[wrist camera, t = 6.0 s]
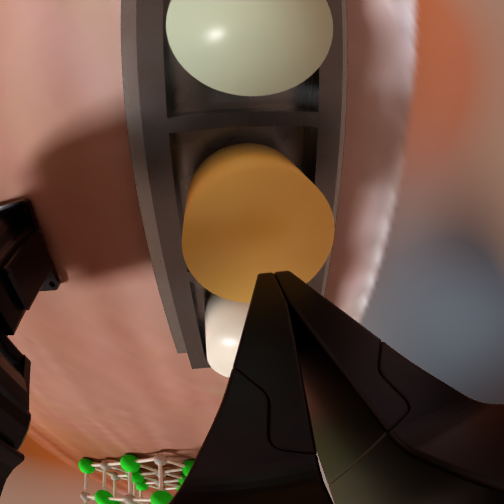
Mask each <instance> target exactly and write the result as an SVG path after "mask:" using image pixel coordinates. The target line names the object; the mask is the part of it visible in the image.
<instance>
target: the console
mask: <svg viewBox="0 0 504 504" xmlns="http://www.w3.org/2000/svg"><path fill="white" fill-rule="evenodd" d="M326 1H327V3H328V5H329V8H330V11H331V15H332V20H333V38H332V42H331V46H330V49H329V52H328V54H327V56H326V58H325V60H324V61H323V63H322V64H321V65H320V67H319V68H318V69H317V70H316V71H315V72H314V73H313V74H312V75H311V76H310V77H309V78H307V79H306V80H305V81H303V82H302V83H300V84H298V85H297V86H295V87H293V88H290V89H288V90H286V91H282V92H279V93H276V94H271V95H265V96H240V95H233V94H229V93H225V92H221V91H218V90H216V89H213V88H210V87H208V86H206V85H205V84H203V83H201V82H200V81H198V80H197V79H196V78H194V77H193V76H192V75H191V74H190V73H188V72H187V71H186V70H185V69H184V68H183V66H182V65H181V64H180V63H179V62H178V60H177V59H176V57H175V55H174V54H173V52H172V50H171V47H170V45H169V42H168V38H167V32H166V16H167V12H168V8H169V5H170V2H171V0H121V56H122V76H123V90H124V102H125V112H126V122H127V130H128V138H129V146H130V153H131V160H132V167H133V173H134V179H135V185H136V191H137V196H138V201H139V207H140V212H141V217H142V222H143V227H144V231H145V236H146V240H147V245H148V249H149V253H150V258H151V262H152V266H153V270H154V274H155V278H156V281H157V285H158V289H159V293H160V296H161V300H162V304H163V307H164V310H165V314H166V317H167V321H168V324H169V327H170V331H171V334H172V337H173V340H174V343H175V346H176V349H177V352H178V353H188V357H189V360H190V363H191V367H192V369H196V368H209V367H211V366H210V365H209V363H208V360H207V352H206V332H205V309H204V305H205V299H206V296H207V294H208V292H209V291H208V290H207V289H205V288H204V287H203V286H202V285H201V284H200V283H199V282H197V280H196V279H195V278H194V277H193V275H192V274H191V272H190V271H189V269H188V267H187V265H186V262H185V260H184V256H183V252H182V230H183V222H184V215H185V207H186V200H187V193H188V188H189V184H190V181H191V179H192V177H193V175H194V173H195V171H196V170H197V168H198V167H199V166H200V165H201V163H202V162H203V161H204V160H205V159H206V158H208V157H209V156H210V155H212V154H213V153H215V152H216V151H218V150H220V149H222V148H225V147H227V146H230V145H234V144H240V143H256V144H262V145H265V146H269V147H271V148H273V149H276V150H277V151H279V152H280V153H282V154H283V155H284V156H286V157H287V158H288V159H289V160H290V161H291V162H292V163H293V164H294V165H295V166H296V167H297V168H298V169H299V170H300V171H301V172H302V173H303V174H304V175H305V176H306V177H307V178H308V179H309V180H310V181H311V182H312V183H313V184H314V185H315V186H316V187H317V188H318V189H319V190H320V191H321V193H322V194H323V195H324V196H325V198H326V200H327V201H328V203H329V205H330V208H331V210H332V213H333V218H334V226H335V225H336V217H337V209H338V201H339V192H340V182H341V172H342V162H343V150H344V137H345V121H346V101H347V64H348V40H347V5H346V0H326ZM332 246H333V245H332ZM331 252H332V248H331V251H330V254H329V256H328V258H327V260H326V262H325V263H324V265H323V266H322V268H321V269H320V270H319V272H318V273H317V274H316V275H315V276H314V277H313V278H312V279H311V280H310V281H309V282H308V283H306V284H308V285H309V286H310V287H312V288H313V289H314V290H316V291H317V292H318V293H320V294H321V295H322V296H324V294H325V289H326V283H327V277H328V271H329V265H330V259H331Z"/></svg>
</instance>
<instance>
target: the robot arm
mask: <svg viewBox="0 0 504 504" xmlns="http://www.w3.org/2000/svg"><path fill="white" fill-rule="evenodd" d="M23 205H24V206H25V207H26V209H24V207H23ZM53 282H54V283H53ZM59 285H60V279H59V277H58V275H57V272H56V270H55V268H54V265H53V262H52V260H51V257H50V255H49V252H48V250H47V247H46V244H45V242H44V239H43V236H42V233H41V231H40V228H39V225H38V222H37V219H36V216H35V213H34V209H33V206H32V203H31V201H30V200H29V199H27V198H23V199H19V200H16V201H12V202H8V203H5V204H1V205H0V496H1V492H2V489H3V486H4V484H5V482H6V479H7V477H8V476H9V474H10V473H11V472H12V470H13V469H14V468H15V467H16V466H18V465H19V464H20V463H21V462H22V461H23V460H24V454H22V453H21V452H19V451H18V450H19V448H20V447H21V445H22V443H23V441H24V439H25V437H26V434H27V432H28V429H29V425H30V421H31V414H30V412H29V384H30V366H31V361H30V360H29V359H28V358H27V357H26V356H25V355H23V354H22V353H21V352H20V351H19V350H18V349H17V348H16V346H15V345H14V344H13V343H12V342H11V340H10V339H9V338H8V337H7V336H8V335H14V333H15V331H16V329H17V327H18V325H19V323H20V321H21V319H22V317H23V315H24V313H25V311H26V310H29V309H30V307H31V305H32V303H33V302H34V300H35V298H36V296H37V294H38V293H39V291H49V290H57V289H58V287H59ZM317 453H318V456H319V459H320V462H321V465H322V468H323V471H324V474H325V476H326V479H327V482H328V484H329V488H330V491H331V494H332V497H333V500H334V503H335V504H504V404H487V403H482V402H479V401H476V400H473V399H471V398H469V397H467V396H465V395H464V394H462V393H460V392H459V391H457V390H455V389H454V388H452V387H450V386H449V385H447V384H445V383H444V382H442V381H440V380H439V379H437V378H436V377H434V376H432V375H431V374H429V373H427V372H426V371H424V370H422V369H421V368H420V367H418V366H417V365H415V364H414V363H412V362H410V361H409V360H408V359H406V358H405V357H403V356H402V355H401V354H399V353H398V352H397V351H395V350H394V349H392V348H391V347H390V346H389V345H387V344H386V343H385V342H381V340H380V339H379V338H378V337H377V336H375V335H374V334H372V333H371V332H370V331H368V330H367V329H366V328H365V327H363V326H362V325H361V324H359V323H358V322H357V321H356V320H354V319H353V318H352V317H350V316H349V315H348V314H346V313H345V312H344V311H342V310H341V309H340V308H338V307H337V306H336V305H334V304H333V303H332V302H330V301H329V300H328V299H326V298H325V297H324V296H322V295H321V294H320V293H318V292H317V291H316V290H314V289H313V288H312V287H310V286H309V285H308V284H306V283H305V282H304V281H302V280H301V279H300V278H298V277H297V276H296V275H294V274H293V273H292V272H290V271H279V272H275V273H274V274H273V273H272V272H269V273H260V274H258V275H257V279H256V283H255V286H254V290H253V294H252V298H251V301H250V305H249V309H248V312H247V316H246V320H245V324H244V327H243V331H242V335H241V338H240V342H239V346H238V349H237V353H236V357H235V360H234V364H233V369H232V370H231V374H230V377H229V381H228V384H227V387H226V390H225V393H224V396H223V400H222V402H221V405H220V407H219V410H218V412H217V414H216V417H215V419H214V422H213V424H212V426H211V428H210V430H209V432H208V434H207V436H206V438H205V441H204V443H203V445H202V447H201V449H200V451H199V453H198V455H197V457H196V459H195V461H194V463H193V465H192V467H191V469H190V471H189V473H188V475H187V476H186V478H185V480H184V482H183V483H182V485H181V487H180V488H179V490H178V491H177V493H176V494H175V496H174V497H173V498H172V500H171V501H170V502H169V503H168V504H333V502H332V499H331V497H330V495H329V493H328V491H327V488H326V486H325V484H324V481H323V478H322V474H321V471H320V467H319V462H318V457H317V455H316V454H317Z"/></svg>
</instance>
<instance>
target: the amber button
mask: <svg viewBox="0 0 504 504" xmlns="http://www.w3.org/2000/svg"><path fill="white" fill-rule="evenodd" d="M334 232H335V226H334V218H333V213H332V210H331V208H330V205H329V203H328V201H327V200H326V198H325V196H324V195H323V194H322V193H321V191H320V190H319V189H318V188H317V187H316V186H315V185H314V184H313V183H312V182H311V181H310V180H309V179H308V178H307V177H306V176H305V175H304V174H303V173H302V172H301V171H300V170H299V169H298V168H297V167H296V166H295V165H294V164H293V163H292V162H291V161H290V160H289V159H288V158H287V157H286V156H284V155H283V154H282V153H280V152H279V151H277V150H276V149H273V148H271V147H269V146H265V145H262V144H256V143H240V144H234V145H230V146H227V147H225V148H222V149H220V150H218V151H216V152H215V153H213V154H212V155H210V156H209V157H208V158H206V159H205V160H204V161H203V162H202V163H201V165H200V166H199V167H198V168H197V170H196V171H195V173H194V175H193V177H192V179H191V181H190V184H189V188H188V193H187V200H186V207H185V215H184V222H183V230H182V252H183V256H184V260H185V262H186V265H187V267H188V269H189V271H190V272H191V274H192V275H193V277H194V278H195V279H196V280H197V282H199V283H200V284H201V285H202V286H203V287H204V288H205V289H207V290H208V291H210V292H211V293H213V294H215V295H217V296H219V297H222V298H225V299H228V300H232V301H236V302H243V303H250V301H251V298H252V294H253V290H254V286H255V283H256V279H257V275H258V274H260V273H269V272H272V273H273V274H274V273H275V272H279V271H290V272H292V273H293V274H294V275H296V276H297V277H298V278H300V279H301V280H302V281H304V282H305V283H308V282H309V281H310V280H311V279H312V278H313V277H314V276H315V275H316V274H317V273H318V272H319V270H320V269H321V268H322V266H323V265H324V263H325V262H326V260H327V258H328V256H329V254H330V251H331V248H332V245H333V241H334Z"/></svg>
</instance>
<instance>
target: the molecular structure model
mask: <svg viewBox="0 0 504 504" xmlns="http://www.w3.org/2000/svg"><path fill="white" fill-rule="evenodd" d="M149 461H154V462H155V464H157V465H158V469H154V468H151V467H148V466H145V465H142V464H140V463H141V462H149ZM194 461H195V460H188V461H186V462H184V463H183V464H181V463H178V462H175V461H172V460H169V459H167V458H166V457H165V456H164V455H163V454H157V455H155V456H154V457H152V458H146V459H138V458H137V457H136V456H134V455H131V454H126V455H124V456H122V458H121V460H120V462H111V463H109V462H108V461H102V462H101V463H98V464H94V463H93V462H92V461H91V460H90V459H87V458H83V459H81V460H80V461H79V463H78V465H79V468H80V470H81V471H82V472H84V473H85V485H84V492H82V493H81V495H80V496H81V498H82V499H83V500H84V504H87V501H89V500H90V499H93V500H96V502H97V503H98V504H122V502H124V503H127V504H168V503H169V502H170V501H171V500H172V498H173V496H172V495H171V494H170V493H168V492H167V490H170V489H177V491H178V490H179V488H180V487H181V485H182V483H183V482H184V480H185V478H186V476H187V475H188V473H189V471H190V469H191V467H192V465H193V463H194ZM166 463H170V464H174V465H177V466H180V467H182V468H177V469H170V470H164V469H162V466H164V465H165V464H166ZM113 465H121V467H122V468H123V469H121V468H119V467H116V466H113ZM95 466H101V468H102V469H103V470H102V469H100V468H97V467H95ZM140 467H142V468H145V469H148V470H151V471H154V472H145V473H143V472H142V471H141V470H140ZM111 468H114V469H116V470H119V471H122V472H125V473H127V474H118V473H116V472H113V473H111V472H108V470H110V469H111ZM95 469H96V470H98V471H101V472H103V490H99V491H97V492H96V493H95V496H91V495H90V494H88V493H87V483H88V474H91V473H93V472H94V470H95ZM178 471H182V472H183V474H181V475H180V476H178V475H175V474H171V473H170V472H178ZM106 473H107V474H109V475H110V476H111V478H112V480H113V496H112V495H111V494H110V493H109V492H108V491H106ZM153 474H156V476H157V477H159V479H153V478H150V477H146V476H144V475H153ZM166 475H168V476H172V477H176V478H179V479H173V480H163V478H165V477H166ZM126 477H128V478H126ZM120 478H121V479H125V480H128V495H126V496H125V497H124V498H117V497H116V481H118V480H119V479H120ZM146 479H148V480H151V482H147V480H146ZM177 481H179V483H178V484H172V483H168V482H177ZM132 482H133V495H132ZM150 484H156V485H157V486H154V485H150ZM165 484H167V485H171V486H176V487H168V488H166V487H164V486H165ZM158 486H159V487H158ZM148 487H153V488H157V489H159V491H156V492H154V493H153V494H152V495H151V498H142V491H145V490H147V489H148ZM136 489H138V490H139V491H140V498H137V496H136ZM145 501H151V503H149V502H145Z"/></svg>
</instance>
